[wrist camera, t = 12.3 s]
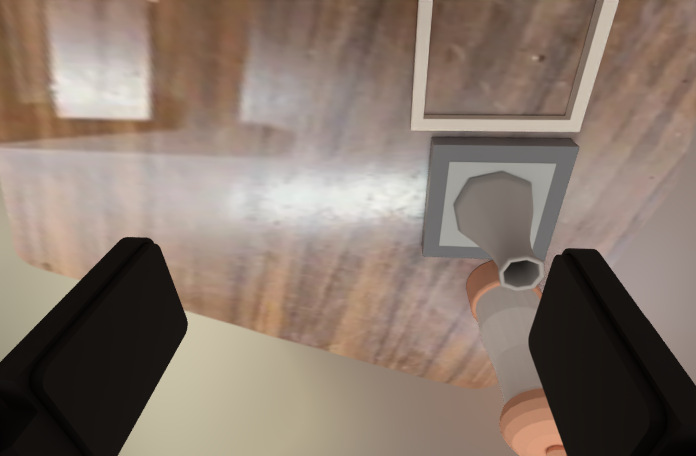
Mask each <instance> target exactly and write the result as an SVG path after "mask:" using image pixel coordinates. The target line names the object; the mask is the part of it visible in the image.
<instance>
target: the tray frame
mask: <svg viewBox="0 0 696 456" xmlns="http://www.w3.org/2000/svg"><path fill="white" fill-rule="evenodd" d="M618 2H619V0H597V1H596V4H595V8H594V12H593V15H592V19H591V23H590V26H589V30H588V33H587V37H586V41H585V44H584V48H583V52H582V55H581V59H580V63H579V66H578V70H577V73H576V77H575V81H574V84H573V88H572V92H571V95H570V99H569V103H568V106H567V110H566V114H565V116H518V115H424V104H425V91H426V79H427V67H428V54H429V42H430V29H431V17H432V4H433V0H418V12H417V27H416V43H415V59H414V75H413V91H412V107H411V123H410V128H411V130H424V131H529V132H579V131H580V128H581V125H582V121H583V118H584V115H585V111H586V108H587V105H588V101H589V98H590V95H591V92H592V88H593V85H594V82H595V78H596V75H597V72H598V68H599V65H600V62H601V58H602V55H603V52H604V48H605V45H606V42H607V38H608V35H609V32H610V28H611V25H612V22H613V19H614V15H615V12H616V9H617V5H618Z"/></svg>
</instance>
